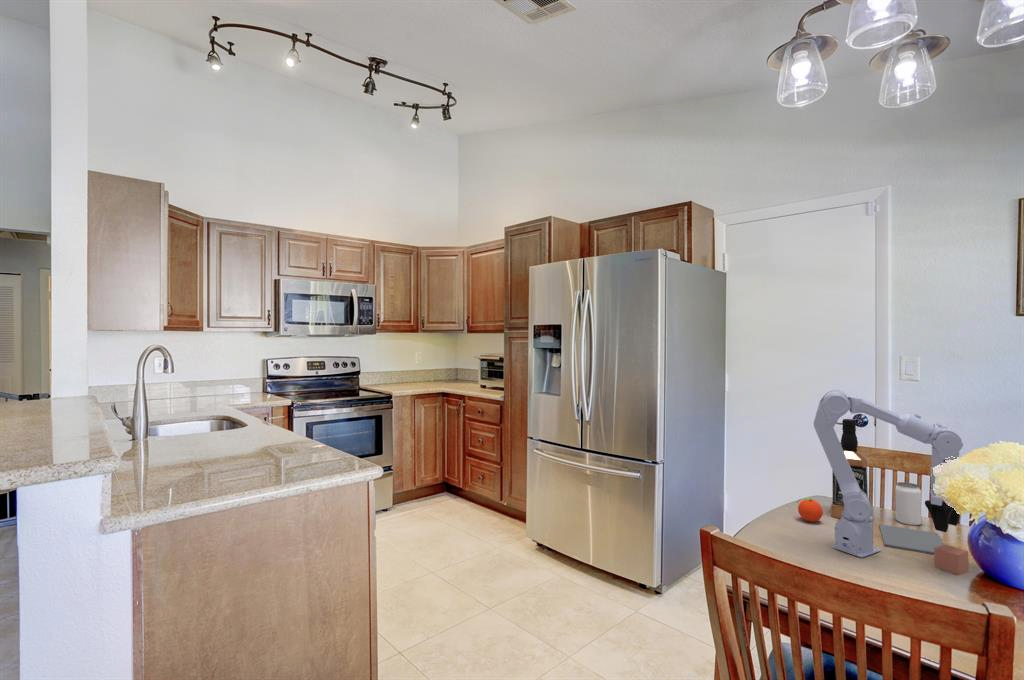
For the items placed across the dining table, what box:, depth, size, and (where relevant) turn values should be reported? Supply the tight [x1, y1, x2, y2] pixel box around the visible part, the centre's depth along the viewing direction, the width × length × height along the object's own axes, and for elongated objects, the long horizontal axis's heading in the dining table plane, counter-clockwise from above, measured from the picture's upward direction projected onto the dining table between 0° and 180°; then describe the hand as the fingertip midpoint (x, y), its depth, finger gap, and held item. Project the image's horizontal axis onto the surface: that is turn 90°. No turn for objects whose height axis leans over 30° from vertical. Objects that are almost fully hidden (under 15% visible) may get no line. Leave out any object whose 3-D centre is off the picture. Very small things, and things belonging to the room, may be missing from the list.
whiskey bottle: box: [830, 418, 869, 519], centre depth 166 cm, size 10×10×32 cm
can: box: [894, 481, 923, 527], centre depth 159 cm, size 6×6×12 cm
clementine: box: [796, 498, 824, 523], centre depth 162 cm, size 8×7×7 cm
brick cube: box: [933, 543, 969, 576], centre depth 127 cm, size 5×5×5 cm
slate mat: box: [879, 523, 944, 555], centre depth 145 cm, size 18×14×1 cm
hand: (946, 527), depth 129 cm, fingers open, 7 cm apart
